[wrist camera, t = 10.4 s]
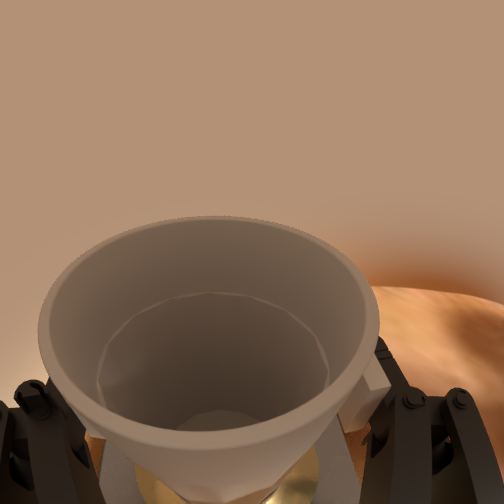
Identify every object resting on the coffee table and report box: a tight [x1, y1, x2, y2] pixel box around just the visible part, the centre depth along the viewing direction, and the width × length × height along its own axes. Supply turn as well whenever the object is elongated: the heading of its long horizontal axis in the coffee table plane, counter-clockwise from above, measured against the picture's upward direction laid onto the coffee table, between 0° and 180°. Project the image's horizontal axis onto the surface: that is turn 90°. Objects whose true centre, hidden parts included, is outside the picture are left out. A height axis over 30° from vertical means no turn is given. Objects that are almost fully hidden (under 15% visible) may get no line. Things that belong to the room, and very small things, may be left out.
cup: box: [38, 216, 380, 504], centre depth 10 cm, size 8×8×12 cm
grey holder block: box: [98, 414, 361, 504], centre depth 13 cm, size 14×12×9 cm
